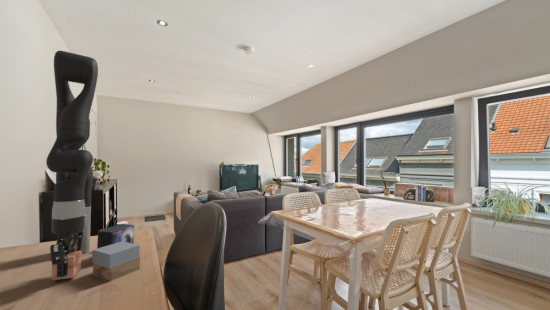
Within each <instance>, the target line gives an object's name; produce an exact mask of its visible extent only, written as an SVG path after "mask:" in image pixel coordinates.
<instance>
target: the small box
mask: <svg viewBox="0 0 550 310" xmlns="http://www.w3.org/2000/svg"><path fill="white" fill-rule="evenodd" d="M134 237H135V224H129V223H128V224H119V225H117V224H116V225H113V226H110V227H106V228H102V229H99V230H97V244H96V245H97V246H96V247H97V248H96V249H98V248H101V247H104V246H108V245H111V244H115V243H118V242H121V241H123V242H127V243H132V244H135V242H134V241H135V238H134Z"/></svg>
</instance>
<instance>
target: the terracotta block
mask: <svg viewBox="0 0 550 310" xmlns="http://www.w3.org/2000/svg"><path fill="white" fill-rule="evenodd" d="M64 256H65V255H64ZM67 263H68V269H67V275H66V276H64V277H57V264H55V265H52V264H51V281H57V280H66V279H74V277H76V275H77V274H78V273H80V272H81V269H82V253H81V251H76V252H72V253H71V254H70V255H69V257H68V262H67Z"/></svg>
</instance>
